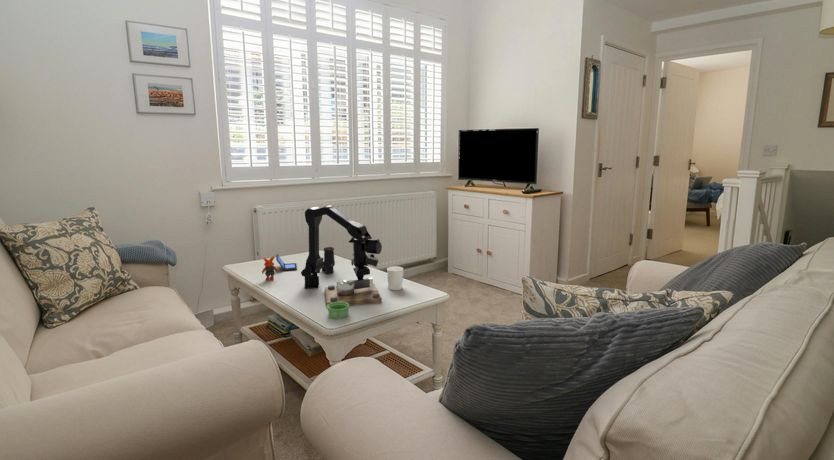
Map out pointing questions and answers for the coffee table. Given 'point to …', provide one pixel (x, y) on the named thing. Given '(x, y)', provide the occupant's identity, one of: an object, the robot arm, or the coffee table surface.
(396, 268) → the white cup
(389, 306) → the coffee table surface
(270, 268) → the toy animal
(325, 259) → the scope
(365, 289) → the base plate
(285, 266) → the handheld game console
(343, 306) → the ramekin
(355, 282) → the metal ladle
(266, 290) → the coffee table surface
